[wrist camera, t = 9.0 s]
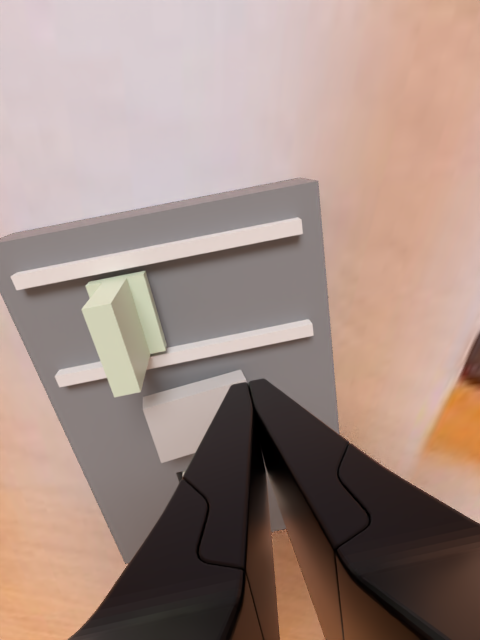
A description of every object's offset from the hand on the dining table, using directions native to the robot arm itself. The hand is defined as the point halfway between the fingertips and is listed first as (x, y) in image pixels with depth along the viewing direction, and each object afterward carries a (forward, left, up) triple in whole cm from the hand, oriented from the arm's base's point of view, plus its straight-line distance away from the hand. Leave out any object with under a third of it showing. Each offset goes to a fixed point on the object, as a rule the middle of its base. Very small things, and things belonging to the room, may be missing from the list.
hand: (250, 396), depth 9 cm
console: (-6, +2, -11) cm, 13 cm away
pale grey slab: (-6, +2, -8) cm, 10 cm away
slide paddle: (0, +4, -8) cm, 9 cm away
